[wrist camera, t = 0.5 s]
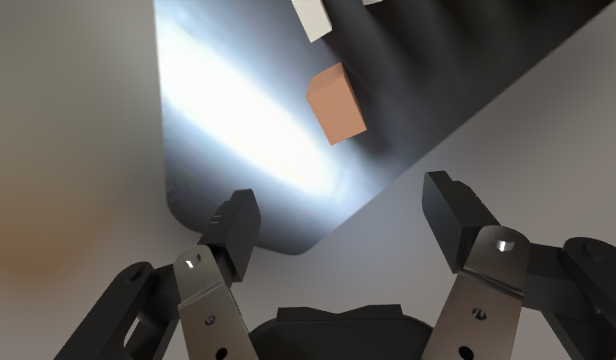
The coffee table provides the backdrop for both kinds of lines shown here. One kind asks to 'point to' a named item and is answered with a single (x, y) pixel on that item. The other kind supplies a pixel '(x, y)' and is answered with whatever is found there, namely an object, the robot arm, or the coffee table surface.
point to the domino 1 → (313, 17)
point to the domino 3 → (370, 1)
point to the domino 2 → (335, 104)
